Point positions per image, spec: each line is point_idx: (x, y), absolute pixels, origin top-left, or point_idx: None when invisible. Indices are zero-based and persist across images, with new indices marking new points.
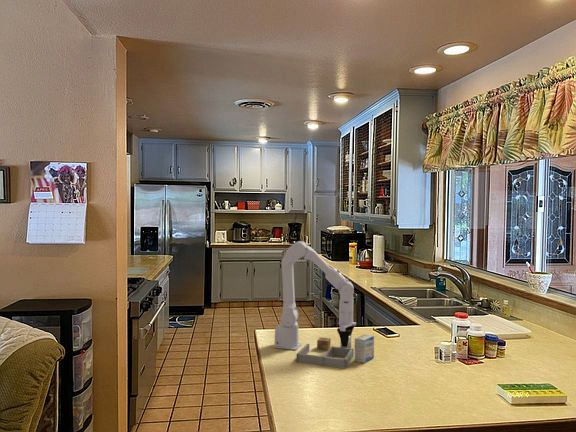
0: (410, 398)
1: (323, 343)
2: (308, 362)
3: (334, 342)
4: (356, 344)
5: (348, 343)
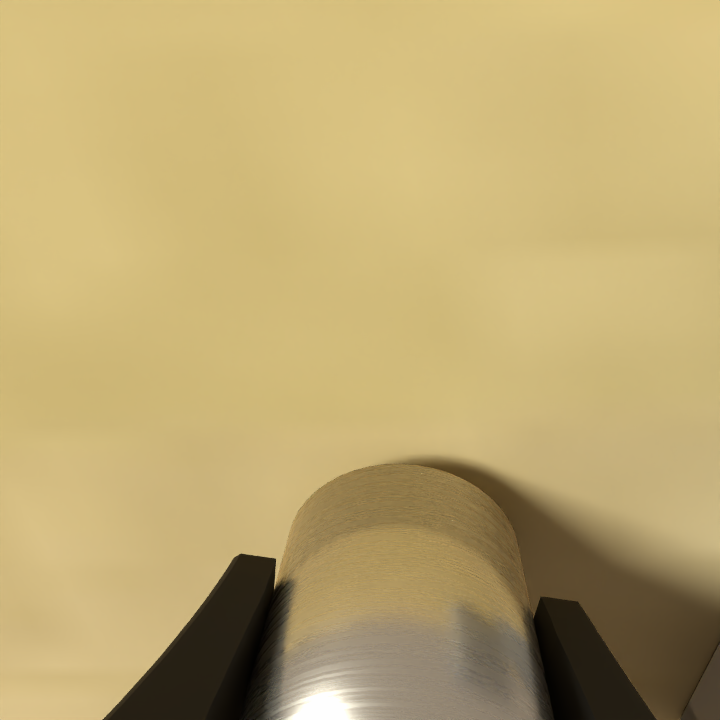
0: None
1: None
2: None
3: (35, 688)
4: None
5: (527, 624)
